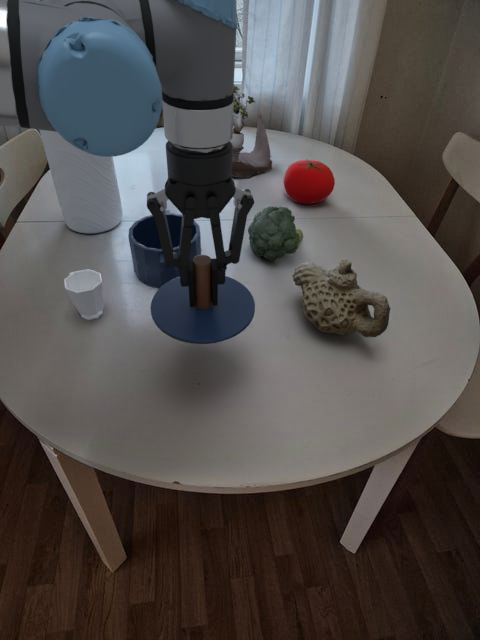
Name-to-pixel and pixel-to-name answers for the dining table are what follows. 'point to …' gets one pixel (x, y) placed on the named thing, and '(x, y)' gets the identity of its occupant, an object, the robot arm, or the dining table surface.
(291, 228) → the vegetable
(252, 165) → the potted plant
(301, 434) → the dining table surface
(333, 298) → the teapot
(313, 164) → the tomato
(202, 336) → the pot lid
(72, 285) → the cup
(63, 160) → the vase
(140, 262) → the pot
